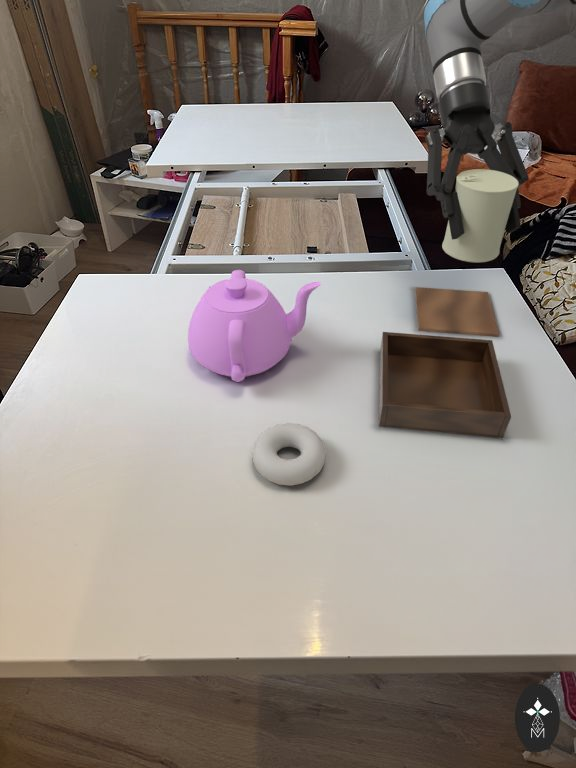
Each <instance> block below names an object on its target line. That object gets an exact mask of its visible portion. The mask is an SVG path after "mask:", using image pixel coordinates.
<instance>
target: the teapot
mask: <svg viewBox="0 0 576 768" xmlns="http://www.w3.org/2000/svg"><path fill="white" fill-rule="evenodd" d="M246 277H247V276H246V272H245V271H244V270H242V269H234V270H233V271H231V274H230V278H227V279H226V278H225V279H223V280H220V281H218V282H215V283H213V284H212V285H210V286H208V288H207V289H206V290H205V292H204V293H203V295H201V297H200V299H199V301H198V302H197V304H196V306H195V308H194V310H193V312H192V314H191V317H190V320H189V324H188V330H187V344H188V349H189V352H190V354H191V356H192V357H193V358H194V360H195V361H196V362H197V363H198V364H200V365H201V366H202V367H204V368H206V369H207V370H209V371H210V372H214V373H216V374H218V375H221V376H225V377H230V378H231V381H234V382H236V383H239V382H242V381H244V380H245V379H246V377H250V376H255V375H259V374H262V373H264V372H266V371H268V370H269V369H271V368H273V367H274V366H276V365H277V364H278V363H279V362H280V361H282V359H284V358H285V356H286V355H287V353H288V351H289V349H290V347H291V344H292V339H293V338H295V337H296V336H297V335H298V334H299V333H301V331H302V329H303V328H304V326H305V323H306V318H307V307H308V301H309V297H310V295H311V294H312V293H313V291H315V290H316V289H318V287H320V286H321V285H322V281H313V282H309V283H307V284H305V285H302V286H301V287H300V288H299V289H298V291H297V293H296V297H295V303H294V307H293V309H292V310H290V311H289V312H288V313H286V311H285V309H284V308H283V306H282V305H281V302H279V300H278V299H277V298H276V296H275V295H274V294H273V293H272V291H271V290H270V289H269V288H268V287H267V286H266V285H264V284H263V283H262V282H260V281H258V280H256V279H255V280H254V279H251V278H246Z"/></svg>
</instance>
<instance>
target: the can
mask: <svg viewBox="0 0 576 768" xmlns="http://www.w3.org/2000/svg"><path fill="white" fill-rule="evenodd" d="M518 185H519V183H518V181H517V179H515V178H514V177H513V176H511V175H509V174H506V173H503V172H499V171H495V170H490V169H488V168H487V169H485V168H476V169H475V168H474V169H468V170H463V171H461V172H459V173H458V174H457V175H456V177H455V187H454V191H453V192H457V194H458V199H459V204H460V210H461V216H462V222H463V227H464V234H463V235H461V236H460V237H459V238H457V239H453V240H452V237H451V232H450V226H449V220H448V221H447V224H446V225H447V226H446V230H445V235H444V239H443V241H442V244H441V247H442V250H443V251H444V253H445V254H447V255H448V256H450V257H451V258H454V259H456V260H458V261H462V262H467V263H487V262H490V261H493V260H495V259H497V257H498V256H499V255H500V249H501V244H502V241H503V238H504V233H505V230H506V224H507V220H508V217H509V213H510V210H511V207H512V203H513V200H514V197H515V193H516V190H517V188H518V189H519V187H518Z"/></svg>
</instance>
